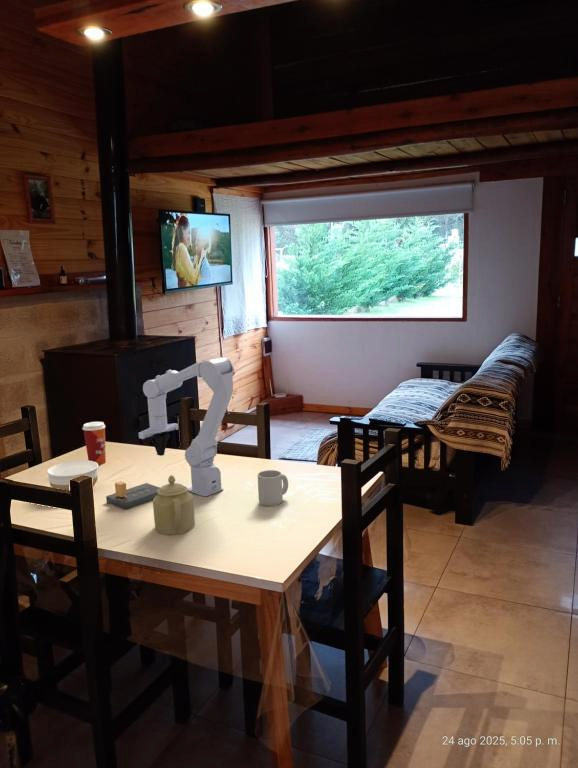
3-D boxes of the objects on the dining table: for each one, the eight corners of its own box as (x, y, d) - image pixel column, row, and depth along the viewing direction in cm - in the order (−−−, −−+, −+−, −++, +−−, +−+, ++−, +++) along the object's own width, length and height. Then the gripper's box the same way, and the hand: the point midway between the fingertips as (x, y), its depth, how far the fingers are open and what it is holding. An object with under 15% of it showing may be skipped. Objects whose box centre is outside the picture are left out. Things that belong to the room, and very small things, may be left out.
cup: (254, 501, 194) (253, 473, 192) (282, 494, 199) (281, 466, 198) (266, 508, 188) (265, 479, 186) (294, 500, 193) (293, 472, 192)
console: (165, 495, 202) (165, 489, 201) (125, 509, 191) (124, 503, 190) (146, 488, 208) (146, 482, 208) (106, 502, 197) (106, 496, 197)
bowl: (80, 479, 220) (78, 457, 219) (110, 487, 211) (108, 464, 209) (39, 493, 207) (36, 470, 206) (69, 503, 198) (66, 478, 197)
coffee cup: (105, 465, 234) (101, 426, 231) (82, 466, 234) (78, 427, 231) (111, 459, 242) (108, 420, 239) (90, 459, 242) (86, 421, 240)
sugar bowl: (211, 529, 174) (208, 477, 172) (178, 542, 167) (174, 488, 164) (180, 515, 185) (176, 466, 182) (147, 527, 177) (143, 476, 175)
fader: (127, 496, 196) (125, 483, 195) (121, 498, 195) (120, 484, 194) (121, 494, 198) (120, 481, 197) (115, 495, 197) (114, 482, 196)
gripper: (168, 409, 216) (170, 447, 219) (131, 417, 206) (135, 458, 208) (181, 411, 212) (183, 451, 214) (144, 420, 201) (148, 462, 204)
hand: (160, 454), depth 211 cm, fingers closed
